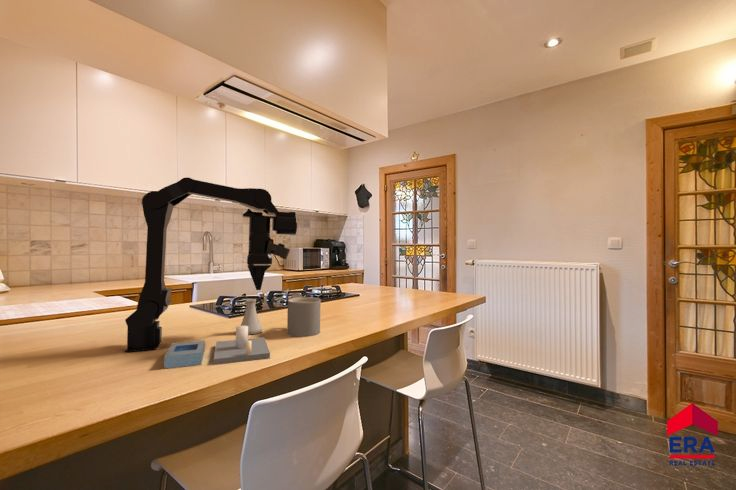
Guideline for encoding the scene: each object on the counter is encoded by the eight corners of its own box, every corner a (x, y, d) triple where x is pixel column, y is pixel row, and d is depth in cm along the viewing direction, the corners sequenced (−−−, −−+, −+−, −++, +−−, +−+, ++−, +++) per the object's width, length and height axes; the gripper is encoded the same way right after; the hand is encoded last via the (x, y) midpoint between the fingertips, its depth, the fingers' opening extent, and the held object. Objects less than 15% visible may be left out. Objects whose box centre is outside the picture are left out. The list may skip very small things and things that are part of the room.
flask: (257, 335, 95) (258, 301, 95) (233, 335, 95) (234, 301, 95) (266, 329, 102) (266, 298, 102) (243, 329, 103) (244, 297, 103)
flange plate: (201, 364, 71) (201, 352, 71) (164, 368, 69) (164, 356, 69) (204, 350, 81) (204, 340, 81) (172, 354, 78) (172, 343, 78)
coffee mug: (325, 334, 98) (325, 301, 98) (293, 338, 93) (293, 303, 93) (309, 324, 109) (309, 295, 109) (279, 328, 104) (280, 297, 104)
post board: (213, 364, 71) (214, 336, 71) (216, 346, 84) (216, 322, 84) (269, 358, 76) (270, 331, 76) (264, 341, 89) (264, 319, 89)
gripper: (292, 233, 87) (290, 291, 87) (284, 235, 104) (283, 284, 104) (247, 232, 83) (246, 292, 83) (248, 234, 100) (246, 284, 100)
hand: (258, 288), depth 93 cm, fingers open, 9 cm apart
